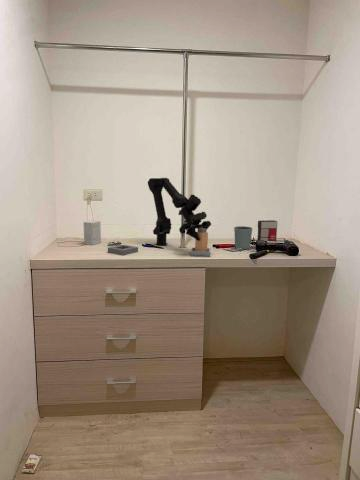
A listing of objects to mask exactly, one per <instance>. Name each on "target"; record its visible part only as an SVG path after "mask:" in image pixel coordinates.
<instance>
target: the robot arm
mask: <svg viewBox="0 0 360 480" xmlns="http://www.w3.org/2000/svg"><path fill="white" fill-rule="evenodd" d="M147 186H148V190H149V191H150V192H151V193H152V196H153V201H154V205H155V211H156V216H157V217H156V221H155V227H154V229H153V230H152V232H153V233H152V234H153V235H156V243H155V246H167V245H168V242H167V235H170V233H171V230H172V222H171V218H169V217H167V214H166V210H165V204H164V199H163V194H162V192H163V189H164V190H165V192H167V194H168V195H169V196H170V198H171V201H172V204H173V206H174V207H175V208H176V209H179V210H178V216H182V217H183V219H184V221H183V224H181V226H180V227H179V229H178V231H179V232H180V234H181V235H182V234H185V235H188V236H190V237H191V238H192V239H193V238H194V239H195V240H198V241H199V240H200V239H199V236H198V235H197V233H196V232H197V231H196V229H197V230H198V228H206V229H207V230H208V229H209V228H210V227H211V225H212V223H211V221H210V220H205V219H206V218H207V216H208V215H207V213H206V212H205V211H202V212H198V213H194V212H195V211H197V209H198V208H199V206H200V205H201V204H202V201H201V198H200V197H198V196H196V195H195V194H190V196H189V197H188V198H187V196H185V195H184V194H182V193H180V192H179V191H178V190H177V188H176V187H175V186H174V185H173V184H172V182H171V181H170V178H168V177H156V178H155V177H152V178H151V177H150V178H149V180H148V181H147ZM180 208H181V209H180Z"/></svg>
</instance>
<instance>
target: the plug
mask: <svg viewBox="0 0 360 480" xmlns="http://www.w3.org/2000/svg"><path fill="white" fill-rule="evenodd" d="M207 230H208V229H206V228H198V229H197V231H196V233H197V235H198V236H199V239H200V240H199V241H198V240H196V239H195V242H194V244H195V245H194V246H195V247H194V248H195V251H199V252H207V248H208V246H209V245H208V243H209V242H208V240H209V232H208V231H207Z"/></svg>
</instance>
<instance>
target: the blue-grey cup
mask: <svg viewBox="0 0 360 480" xmlns="http://www.w3.org/2000/svg"><path fill="white" fill-rule="evenodd" d="M233 231H234V248H235V247H236V248H242V249H248V250H250V249H251V243H252V234H253V227H251V226H243V225H240V226H239V225H238V226H235V227H234V228H233ZM236 248H235V249H236Z"/></svg>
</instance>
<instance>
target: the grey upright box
mask: <svg viewBox="0 0 360 480" xmlns="http://www.w3.org/2000/svg"><path fill="white" fill-rule="evenodd" d="M277 232H278V220H274V219H273V220H258V221H257V240H264V241H275V242H276V243H277V237H278V236H277V234H278V233H277ZM257 240H256V241H257Z"/></svg>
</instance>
